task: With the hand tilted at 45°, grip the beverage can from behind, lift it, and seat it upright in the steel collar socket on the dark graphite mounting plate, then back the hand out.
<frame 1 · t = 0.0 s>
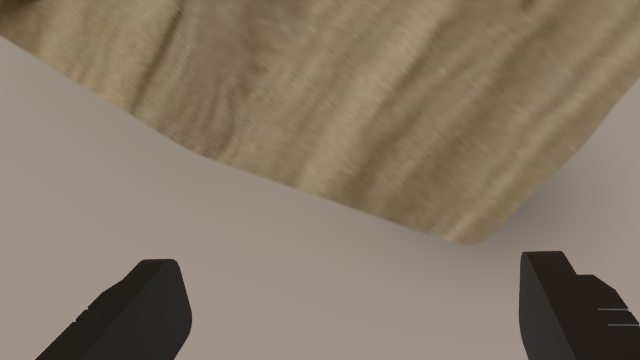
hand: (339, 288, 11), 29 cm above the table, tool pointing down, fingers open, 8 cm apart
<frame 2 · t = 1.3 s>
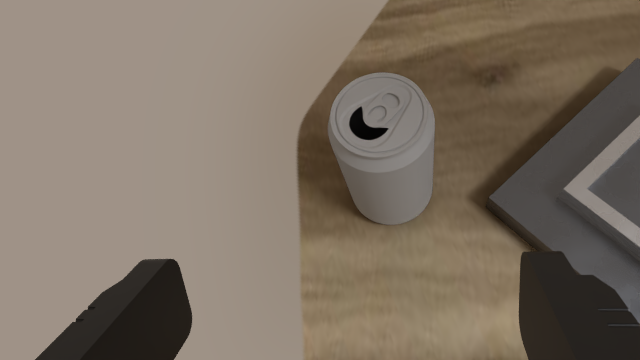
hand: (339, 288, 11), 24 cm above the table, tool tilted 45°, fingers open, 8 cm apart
beverage can: (392, 190, 37), on the table
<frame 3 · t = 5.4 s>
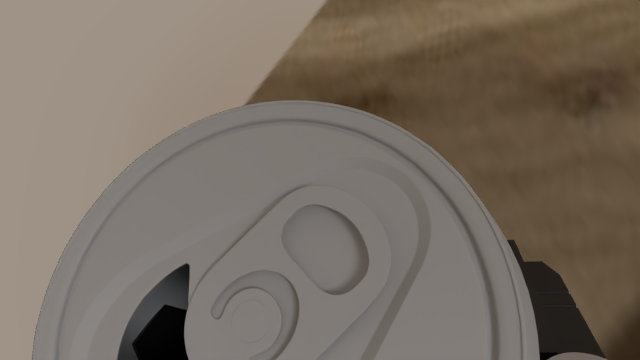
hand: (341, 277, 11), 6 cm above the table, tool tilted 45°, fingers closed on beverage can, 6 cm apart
when the fingers open (9 cm above the table, at t = 13.3 s): beverage can stays where it is, resting on mounting plate.
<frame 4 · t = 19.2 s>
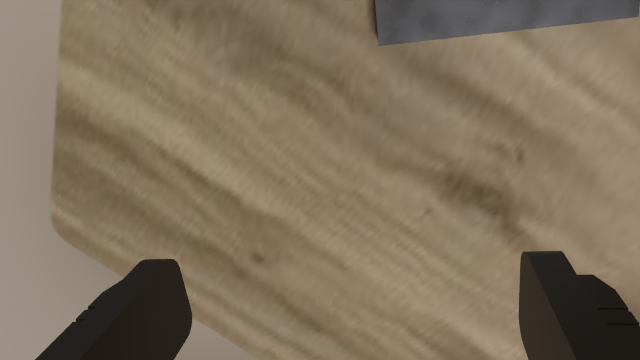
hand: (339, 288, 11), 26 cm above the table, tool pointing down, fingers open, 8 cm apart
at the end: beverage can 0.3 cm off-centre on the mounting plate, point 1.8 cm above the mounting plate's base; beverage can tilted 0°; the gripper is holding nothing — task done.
